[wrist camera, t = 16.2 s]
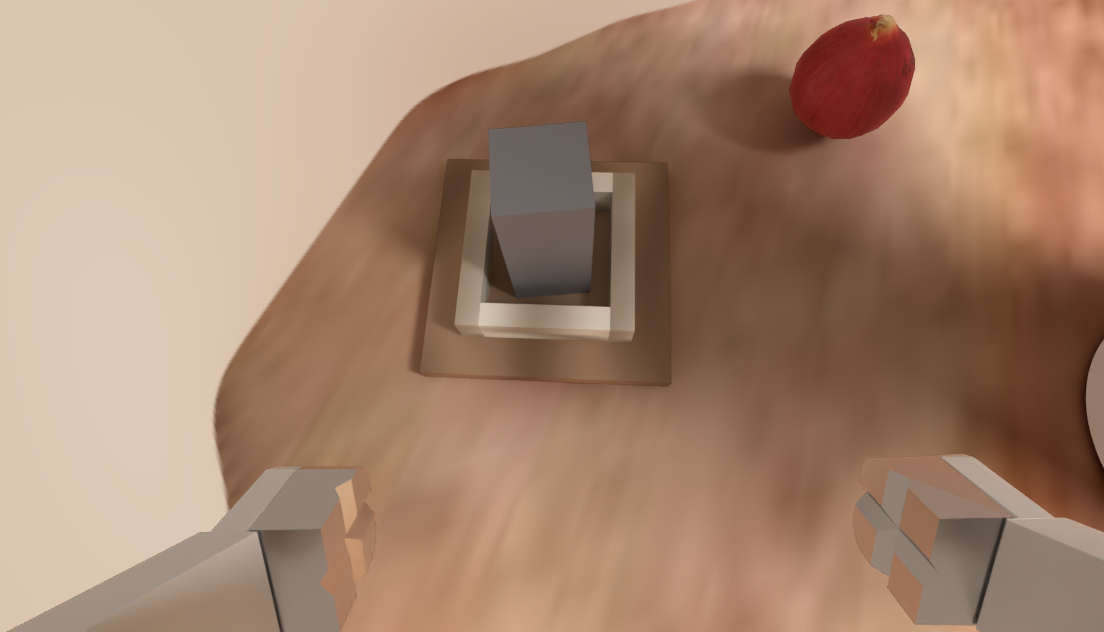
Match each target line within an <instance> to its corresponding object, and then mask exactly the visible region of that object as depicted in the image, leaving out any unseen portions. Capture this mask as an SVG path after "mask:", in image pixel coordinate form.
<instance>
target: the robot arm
mask: <svg viewBox="0 0 1104 632" xmlns="http://www.w3.org/2000/svg"><path fill="white" fill-rule="evenodd" d="M1086 409H1087V417H1088V423H1089V428H1090V432H1091V436H1092V439H1093V443H1094V446H1095V448H1096V451H1097V454H1098V456H1099V459H1100V461H1101V463H1102V465H1103V467H1104V340H1103V341H1102V343H1101V344H1100V346H1099V347H1098V349H1097V351H1096V353H1095V355H1094V358H1093V360H1092V363H1091V366H1090V370H1089V374H1088V379H1087V387H1086ZM859 482H860V483H861V485H862V486H863V488H864V489H865V491H866V493H865V494H864V495H863V496H862V497H861V498H860V499H859V500H858V501H857V502H856V503H855V507H854V514H853V527H854V533H855V539H856V541H857V544H858V546H859V548H860V550H861V553H862V554H863V555H864V557H865V558H866V560H867V561H868V562H869V564H870V565H871V566H873V567H874V568H876V569H878V570H879V571H881V572H883V573H884V574H886V575H888V576H889V579H888V586H887V588H888V589H889V591H890V592H891V593H892V595H893V596H894V597H895V599H896V600H897V601H898V603H899V604H900V605H901V607H902V608H903V609H904V611H905V612H906V613H907V615H908V616H909V617H910V619H911V620H912V621H913V623H914V624H915V625H977V626H976V629H977V630H979V631H980V632H1104V532H1101V531H1099V530H1096V529H1094V528H1091V527H1088V526H1086V525H1083V524H1081V523H1078V522H1076V521H1073V520H1070V519H1068V518H1054V517H1053V516H1052V515H1050V514H1049V513H1048V512H1046V511H1045V510H1044V509H1042V508H1041V507H1040V506H1038V505H1037V504H1036V503H1034V502H1033V501H1032V500H1030V499H1029V498H1028V497H1026V496H1025V495H1024V494H1022V493H1021V492H1020V491H1018V490H1017V489H1016V488H1014V487H1013V486H1012V485H1010V484H1009V483H1008V482H1006V481H1005V480H1004V479H1002V478H1001V477H1000V476H998V475H997V474H996V473H994V472H993V471H992V470H990V469H989V468H988V467H986V466H985V465H984V464H982V463H981V462H980V461H978V460H977V459H976V458H974V457H972V456H968V455H965V454H949V455H931V456H915V457H890V458H867V459H866V461H865V462H864V464H863V466H862V467H861V473H860V478H859ZM370 490H371V487H370V482H369V477H368V472H367V471H366V470H365V469H364V468H363V467H307V466H304V467H300V466H292V467H273V468H269V469H266V470H265V471H264V472H263V474H262V475H261V476H260V477H259V478H258V479H257V480H256V481H255V483H254V484H253V485H252V486H251V487H250V488H249V489H248V490H247V492H246V493H245V494H244V495H243V496H242V497H241V498H240V499H239V501H238V502H237V503H236V504H235V505H234V506H233V507H232V508H231V510H230V511H229V512H228V513H227V514H226V515H225V516H224V517H223V519H222V520H221V521H220V522H219V523H218V524H217V525H216V526H215V527H214V529H213V530H212V531H211V532H200V533H198V534H196V535H194V536H192V537H190V538H188V539H186V540H184V541H182V542H180V543H178V544H176V545H175V546H172V547H171V548H169V549H167V550H165V551H163V552H161V553H159V554H157V555H155V556H153V557H151V558H149V559H147V560H146V561H143V562H141V563H139V564H137V565H136V566H134V567H132V568H130V569H128V570H126V571H124V572H122V573H120V574H118V575H116V576H114V577H112V578H110V579H109V580H106V581H104V582H103V583H101V584H99V585H97V586H95V587H93V588H91V589H89V590H87V591H85V592H83V593H81V594H79V595H77V596H75V597H73V598H72V599H70V600H68V601H66V602H64V603H62V604H60V605H58V606H56V607H54V608H52V609H50V610H48V611H46V612H44V613H42V614H41V615H38V616H37V617H35V618H33V619H31V620H29V621H27V622H25V623H23V624H21V625H19V626H17V627H15V628H13V629H11V630H9V631H7V632H341V630H342V628H343V625H344V623H345V621H346V619H347V616H348V614H349V612H350V610H351V607H352V605H353V603H354V601H355V598H356V596H357V595H356V589H355V583H354V582H356V581H357V580H358V579H359V578H361V577H362V576H363V575H365V574H366V573H367V571H368V568H369V566H370V563H371V561H372V558H373V553H374V548H375V543H376V521H375V513H374V512H373V511H372V509H371V508H370V507H369V506H368V505H367V504H366V503H365V500H366V498H367V496H368V494H369V492H370Z"/></svg>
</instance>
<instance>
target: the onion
mask: <svg viewBox="0 0 1104 632" xmlns="http://www.w3.org/2000/svg"><path fill="white" fill-rule="evenodd" d="M914 70H915V58H914V54H913V51H912V48H911V45H910V41H909V38H908V37H907V35H906V34H905V33H904V32H903V31H902V30H901V29H900V28H899V27H898V25H897V24H896V22H895V20H894V18H893V16H890V15H879V16H873V17H871V18H869V17H865V18H860V19H855V20H851V21H847V22H845V23H842V24H840V25H838V26H836V27H834V28H832V29H831V30H829V31H827V32H826V33H824V34H823V35H821V36H820V37H819V38H818V39H817V40H816V41H815V42H814V43H813V44H812V45H811V46H810V47H809V48H808V49H807V50H806V51H805V52H804V53H803V55H802V56H801V58H800V59H799V61H798V62H797V64H796V67H795V71H794V74H793V78H792V82H791V85H790V89H789V90H790V96H791V101H792V105H793V110H794V113H795V114H796V115H797V116H798V118H799V119H800V120H801V121H802V123H803V124H804V125H806V126H807V127H808V128H810V129H811V130H813V131H814V132H816V133H817V134H820V135H823V136H826V137H829V138H832V139H851V138H854V137H858V136H861V135H863V134H866V133H868V132H870V131H873V130H875V129H877V128H879V127H880V126H881V125H882V124H883V123H884V122H885V121H887V120H888V119H889V118H890V117H891V116H892V115H893V114H894V113H895V112H896V111H897V110H898V109H899V108H900V107H901V105H902V104H903V102H904V100H905V99H906V97H907V95H908V93H909V89H910V85H911V81H912V78H913V74H914Z"/></svg>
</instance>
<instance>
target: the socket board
mask: <svg viewBox="0 0 1104 632" xmlns="http://www.w3.org/2000/svg"><path fill="white" fill-rule="evenodd" d="M591 171H592V181H593V191H594V200H595V221H594V238H593V254H592V271H591V288H590V293H578V294H565V295H552V296H539V297H526V298H516V295H515V292H514V289H513V285H512V282H511V279H510V276H509V272H508V269H507V266H506V263H505V259H504V256H503V253H502V250H501V246H500V243H499V240H498V237H497V233H496V230H495V227H494V224H493V220H492V217H491V193H490V163H489V160H469V159H448V160H447V167H446V175H445V183H444V190H443V198H442V206H441V213H440V221H439V228H438V236H437V244H436V251H435V259H434V266H433V274H432V282H431V289H430V297H429V304H428V312H427V320H426V327H425V335H424V343H423V350H422V358H421V365H420V373H421V374H422V375H424V376H429V377H453V378H477V379H501V380H525V381H549V382H573V383H597V384H621V385H645V386H669V385H670V384H671V337H670V284H669V230H668V176H667V163H642V162H591Z"/></svg>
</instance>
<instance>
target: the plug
mask: <svg viewBox="0 0 1104 632" xmlns="http://www.w3.org/2000/svg"><path fill="white" fill-rule="evenodd" d="M488 133H489V163H490V193H491V217H492V220H493V224H494V227H495V230H496V233H497V237H498V240H499V243H500V246H501V250H502V253H503V256H504V259H505V263H506V266H507V269H508V272H509V276H510V279H511V282H512V285H513V289H514V292H515V295H516V298H526V297H539V296H552V295H565V294H578V293H590V288H591V271H592V254H593V238H594V221H595V200H594V191H593V181H592V171H591V162H590V152H589V142H588V133H587V123H586V121H583V122H571V123H559V124H548V125H536V126H524V127H512V128H500V129H489V130H488Z"/></svg>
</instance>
